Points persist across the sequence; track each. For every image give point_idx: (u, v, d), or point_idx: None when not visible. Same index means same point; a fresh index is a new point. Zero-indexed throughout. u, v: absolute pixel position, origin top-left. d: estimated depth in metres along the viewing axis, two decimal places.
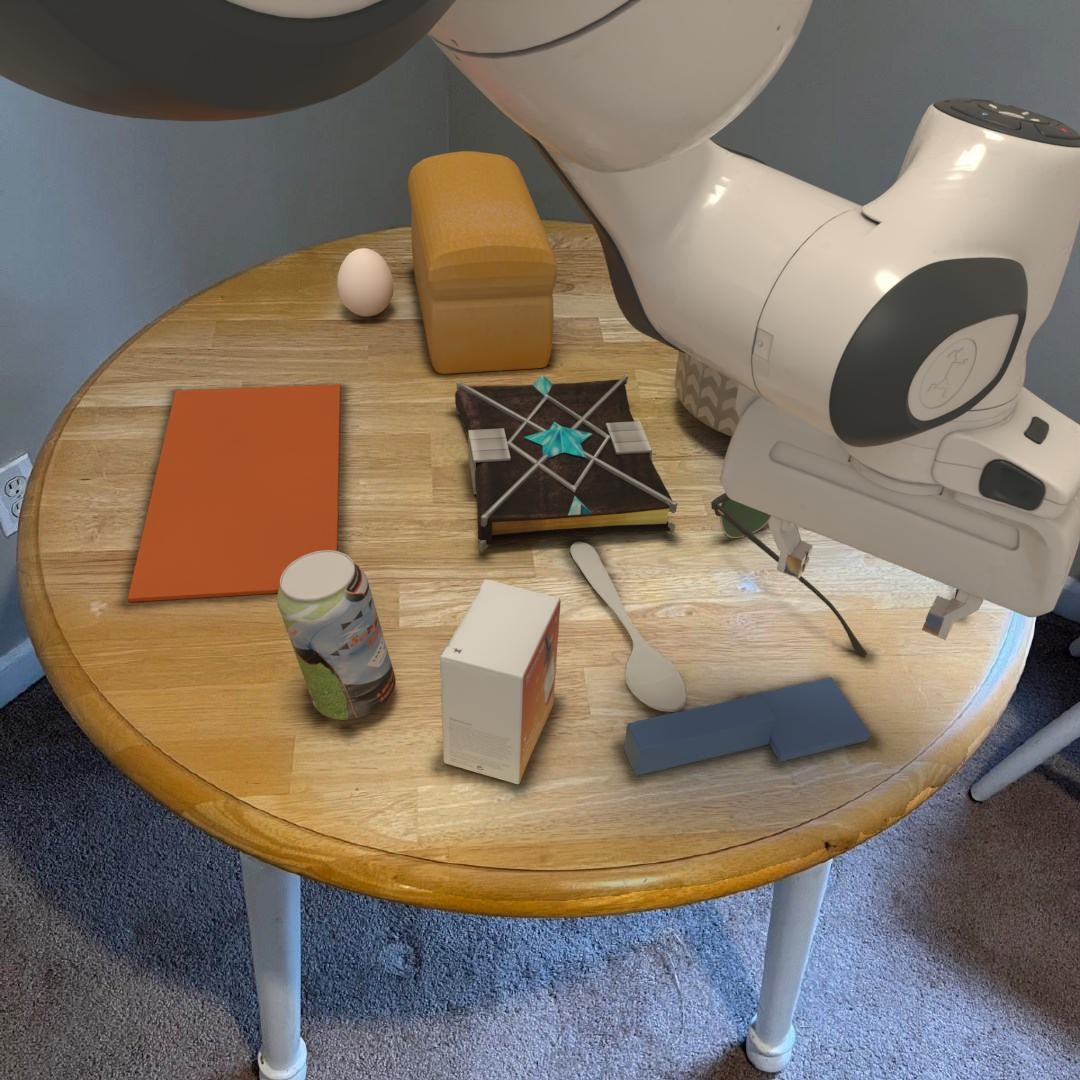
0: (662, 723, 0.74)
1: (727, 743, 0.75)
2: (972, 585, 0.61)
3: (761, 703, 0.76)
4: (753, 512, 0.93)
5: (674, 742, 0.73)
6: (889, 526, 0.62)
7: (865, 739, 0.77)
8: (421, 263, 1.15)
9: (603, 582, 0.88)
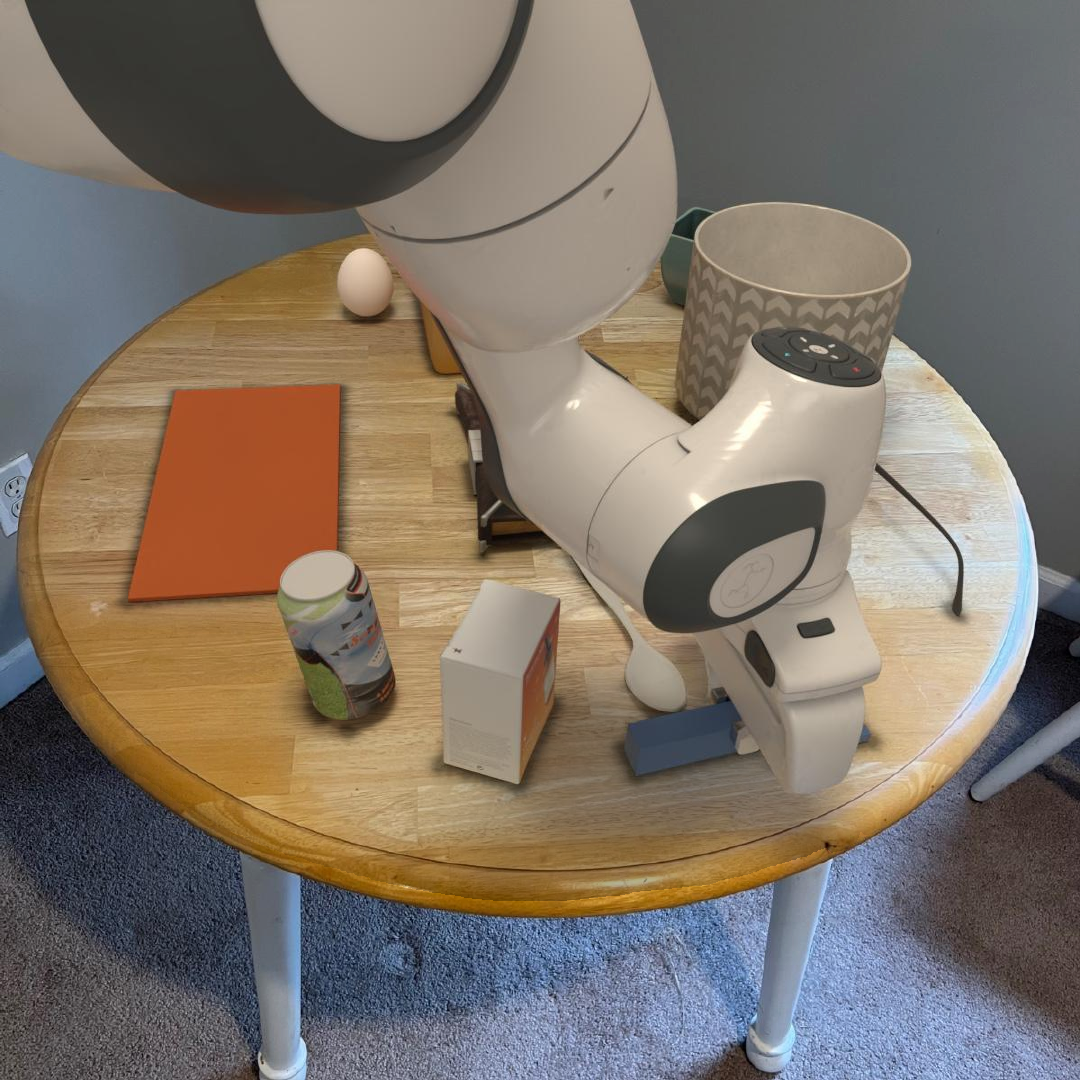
0: (662, 723, 0.74)
1: (727, 743, 0.75)
2: (759, 742, 0.67)
3: None
4: None
5: (674, 742, 0.73)
6: (727, 662, 0.70)
7: (866, 739, 0.77)
8: None
9: None
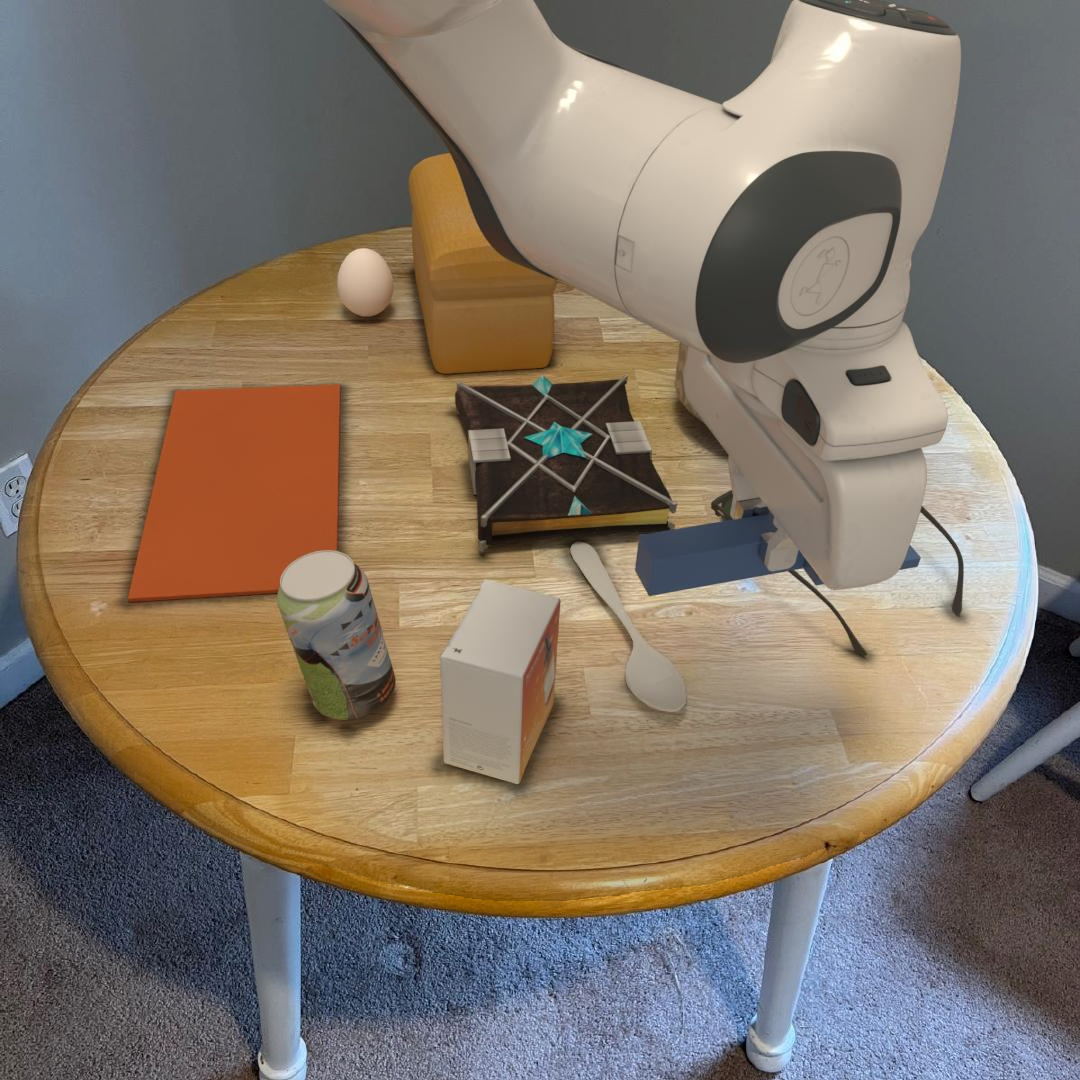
0: (680, 535, 0.64)
1: (755, 562, 0.64)
2: (796, 535, 0.57)
3: None
4: None
5: (694, 554, 0.62)
6: (758, 452, 0.60)
7: (915, 564, 0.66)
8: (422, 263, 1.15)
9: (603, 582, 0.88)
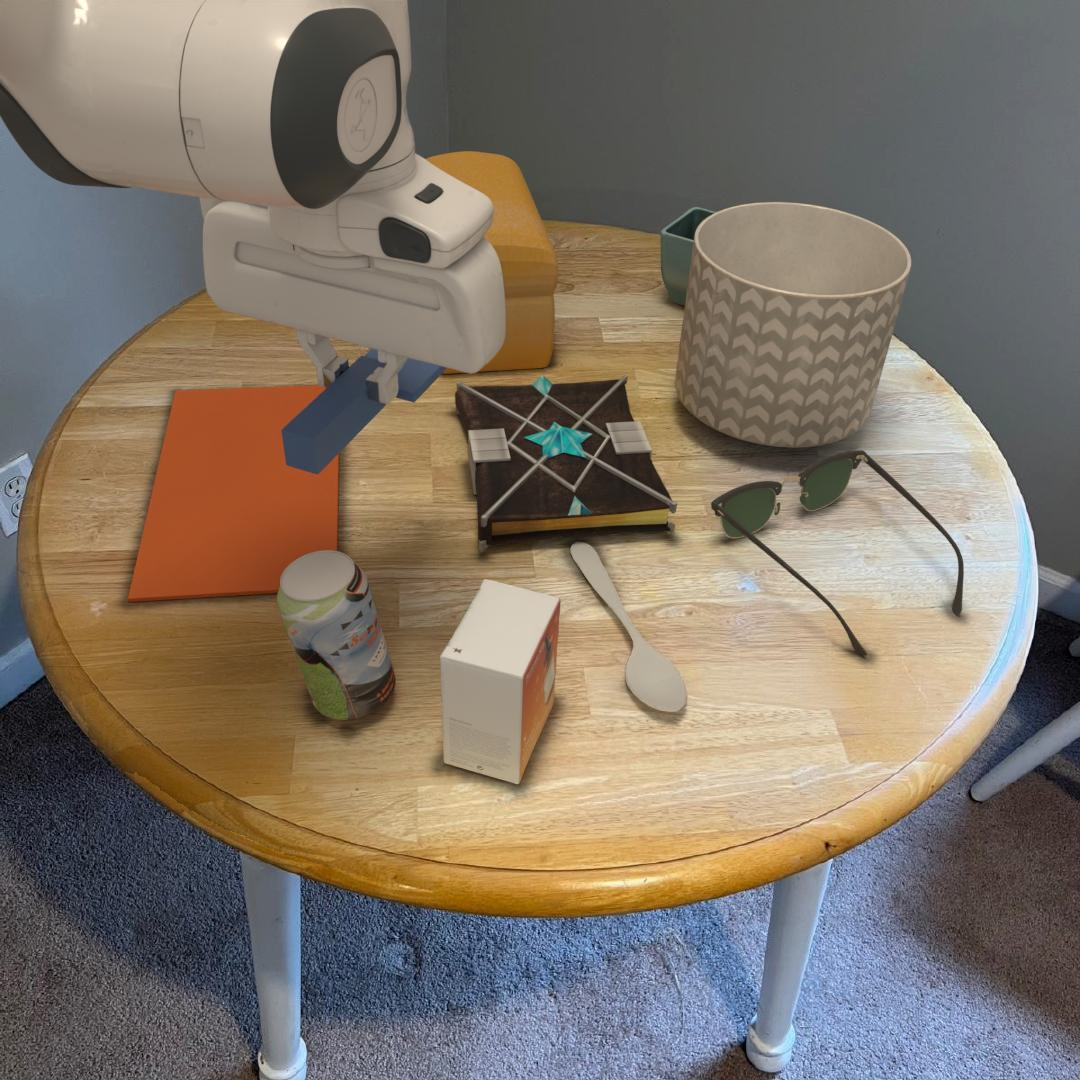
0: (310, 413, 0.70)
1: (368, 406, 0.73)
2: (420, 352, 0.67)
3: (369, 360, 0.75)
4: (753, 513, 0.93)
5: (334, 419, 0.69)
6: (343, 308, 0.68)
7: None
8: None
9: (603, 582, 0.88)
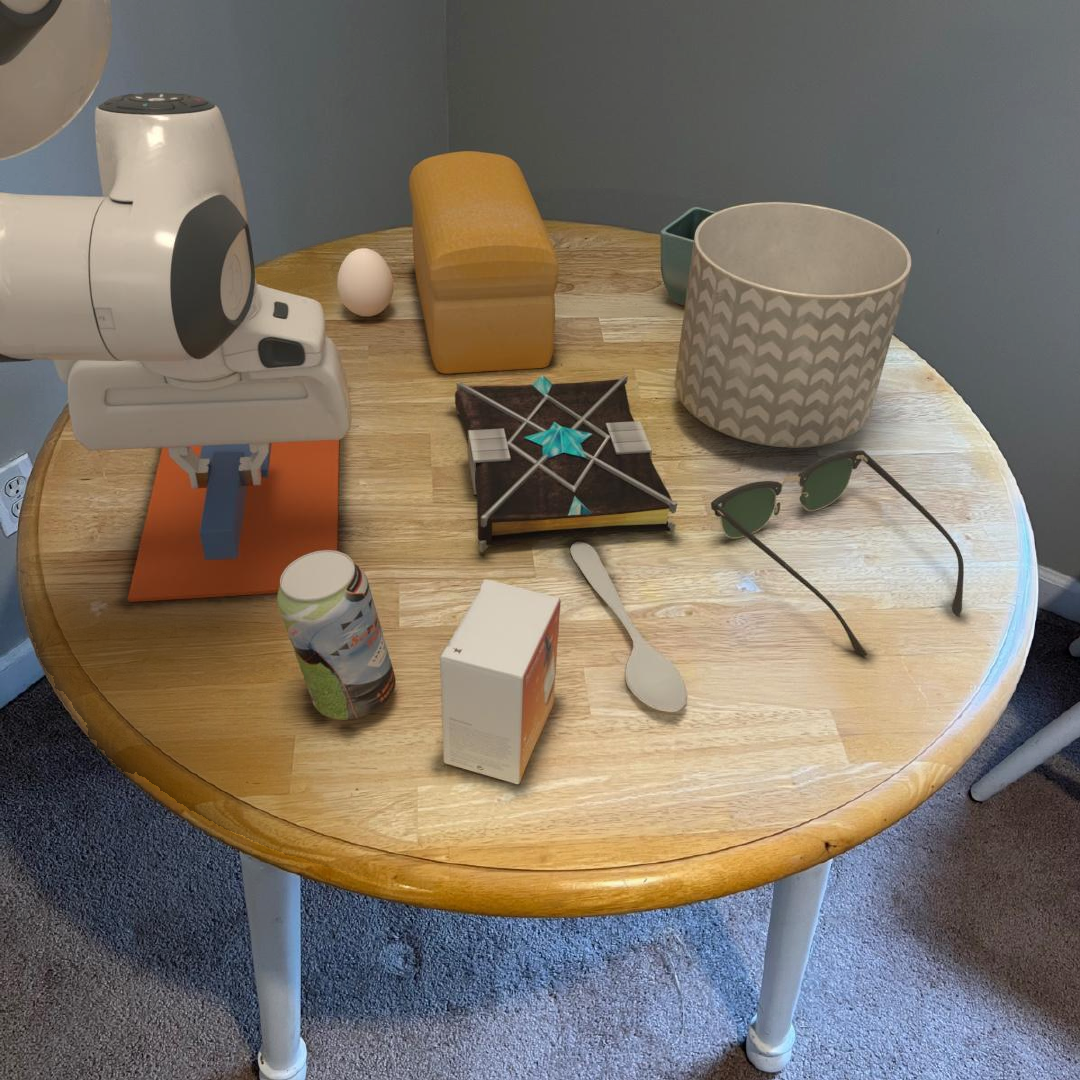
0: (211, 511, 0.82)
1: (242, 491, 0.86)
2: (293, 434, 0.82)
3: (223, 454, 0.87)
4: (753, 513, 0.93)
5: (235, 509, 0.82)
6: (218, 418, 0.80)
7: None
8: (423, 263, 1.15)
9: (603, 582, 0.88)
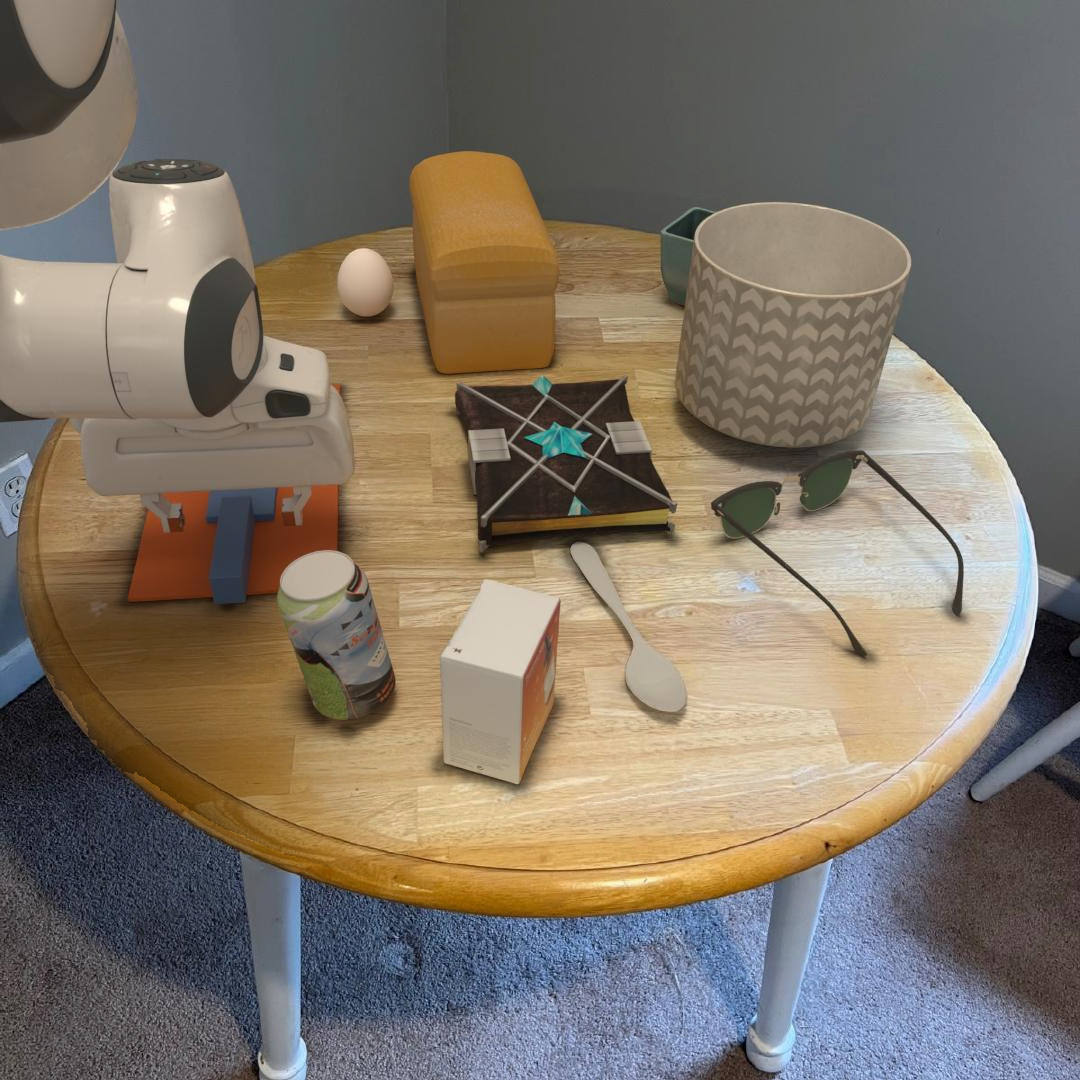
0: (220, 557, 0.85)
1: (250, 535, 0.89)
2: (298, 480, 0.85)
3: (231, 499, 0.90)
4: (753, 513, 0.93)
5: (243, 555, 0.85)
6: (226, 465, 0.83)
7: None
8: (423, 263, 1.15)
9: (603, 582, 0.88)
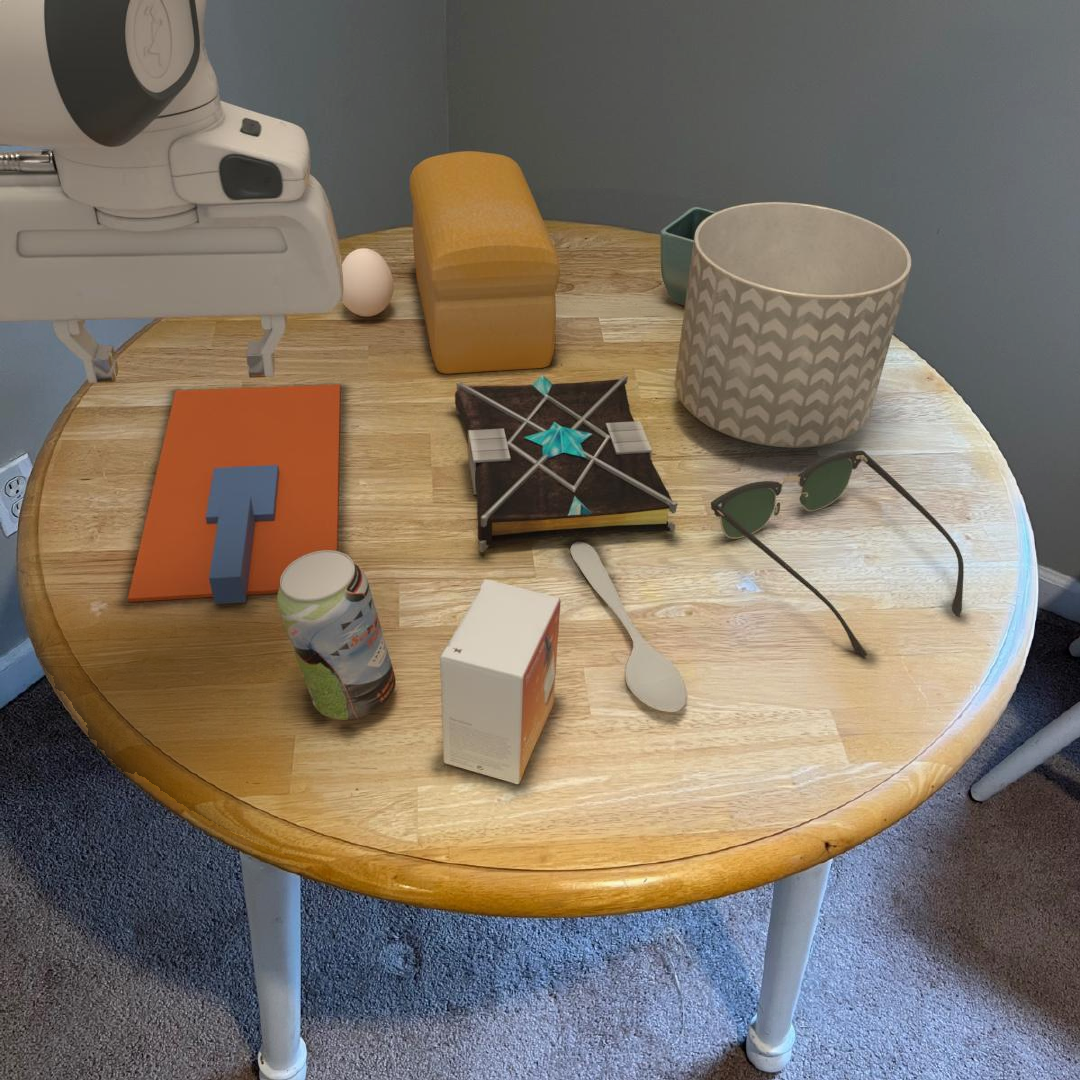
0: (220, 557, 0.85)
1: (250, 535, 0.89)
2: (268, 304, 0.63)
3: (231, 499, 0.90)
4: (753, 513, 0.93)
5: (243, 555, 0.85)
6: (169, 278, 0.61)
7: (278, 471, 0.98)
8: (423, 263, 1.15)
9: (603, 582, 0.88)
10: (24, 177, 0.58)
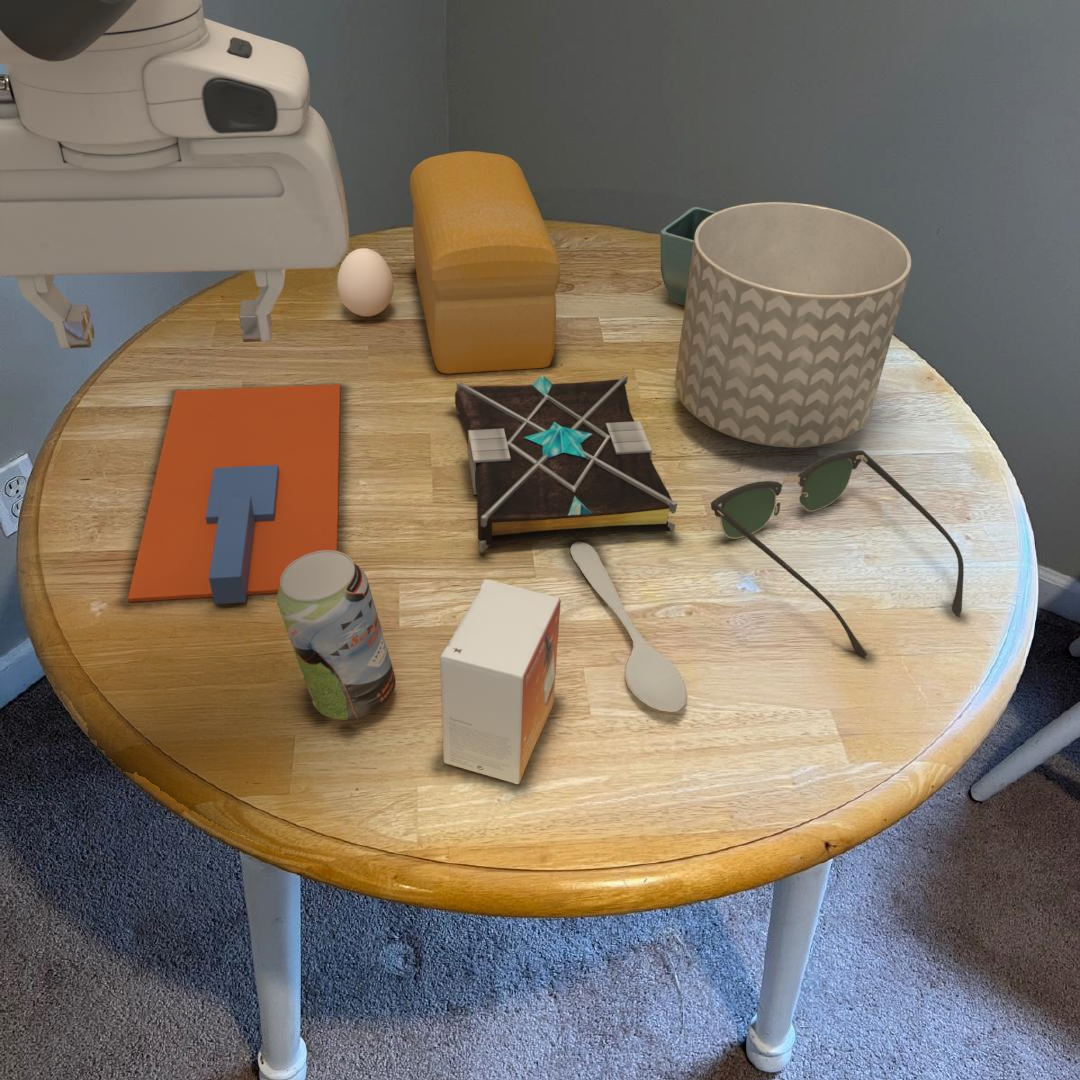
0: (220, 557, 0.85)
1: (250, 535, 0.89)
2: (263, 257, 0.55)
3: (231, 499, 0.90)
4: (753, 513, 0.93)
5: (243, 555, 0.85)
6: (148, 226, 0.53)
7: (278, 471, 0.98)
8: (423, 263, 1.15)
9: (603, 582, 0.88)
10: None
